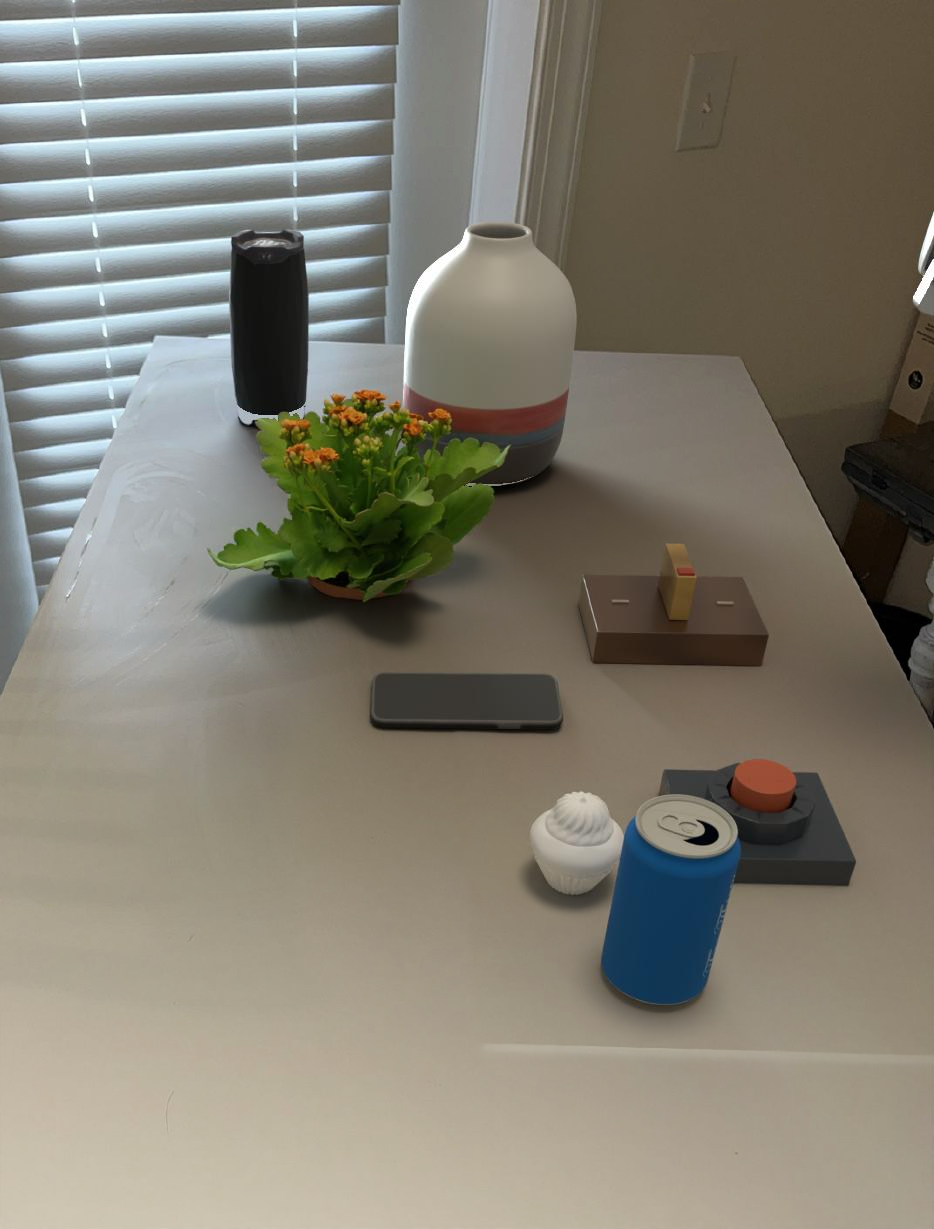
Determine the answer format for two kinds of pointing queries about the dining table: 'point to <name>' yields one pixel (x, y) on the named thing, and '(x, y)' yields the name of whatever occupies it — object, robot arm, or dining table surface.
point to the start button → (763, 786)
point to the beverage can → (670, 898)
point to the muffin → (576, 843)
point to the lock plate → (671, 622)
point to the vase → (493, 348)
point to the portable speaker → (269, 321)
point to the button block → (776, 830)
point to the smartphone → (466, 700)
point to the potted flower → (364, 498)
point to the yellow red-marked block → (677, 581)
